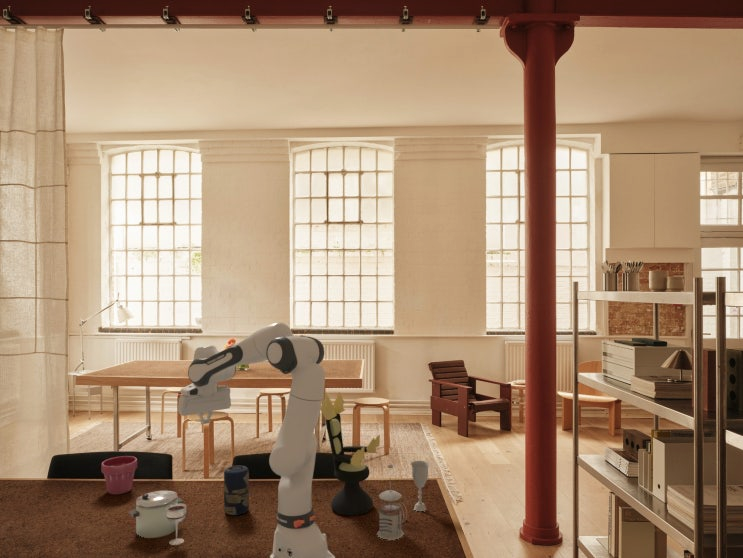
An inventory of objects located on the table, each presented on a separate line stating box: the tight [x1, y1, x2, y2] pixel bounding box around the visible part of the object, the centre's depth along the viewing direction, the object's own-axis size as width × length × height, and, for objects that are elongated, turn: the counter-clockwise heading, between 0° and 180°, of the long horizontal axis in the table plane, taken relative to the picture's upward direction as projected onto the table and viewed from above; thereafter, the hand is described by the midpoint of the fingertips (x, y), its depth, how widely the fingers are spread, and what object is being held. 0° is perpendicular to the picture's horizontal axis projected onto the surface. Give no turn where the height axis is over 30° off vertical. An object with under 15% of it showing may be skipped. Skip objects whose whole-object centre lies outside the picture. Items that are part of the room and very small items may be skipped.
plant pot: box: [101, 455, 138, 495], centre depth 242 cm, size 14×14×13 cm
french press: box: [376, 463, 408, 541], centre depth 200 cm, size 10×12×25 cm
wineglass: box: [166, 502, 188, 546], centre depth 196 cm, size 7×7×12 cm
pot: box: [129, 497, 184, 539], centre depth 205 cm, size 14×18×10 cm
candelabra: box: [320, 392, 381, 516], centre depth 224 cm, size 19×22×45 cm
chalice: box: [410, 460, 430, 512], centre depth 222 cm, size 7×7×18 cm
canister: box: [223, 464, 250, 516], centre depth 220 cm, size 10×10×18 cm
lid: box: [135, 490, 178, 507], centre depth 205 cm, size 14×14×2 cm
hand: (205, 423), depth 218 cm, fingers closed
